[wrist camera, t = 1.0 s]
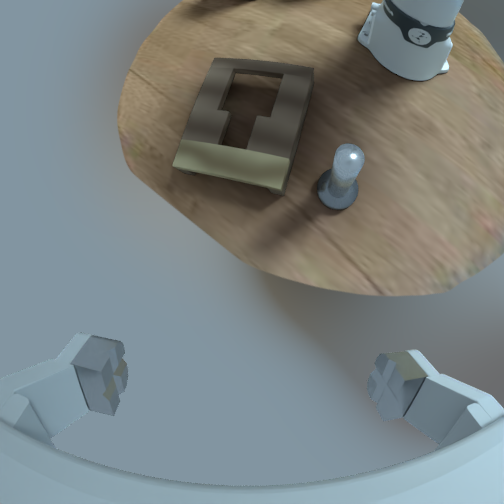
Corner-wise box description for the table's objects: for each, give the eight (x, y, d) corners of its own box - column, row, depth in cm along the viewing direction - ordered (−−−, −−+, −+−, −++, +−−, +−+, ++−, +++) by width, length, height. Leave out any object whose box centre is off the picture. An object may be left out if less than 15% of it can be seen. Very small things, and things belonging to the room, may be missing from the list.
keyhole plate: (222, 71, 44) (214, 57, 40) (314, 83, 41) (313, 68, 36) (184, 173, 45) (172, 165, 41) (283, 195, 42) (280, 189, 37)
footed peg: (322, 166, 41) (326, 123, 26) (360, 177, 39) (382, 140, 25) (313, 203, 41) (313, 176, 26) (351, 214, 40) (372, 194, 25)
